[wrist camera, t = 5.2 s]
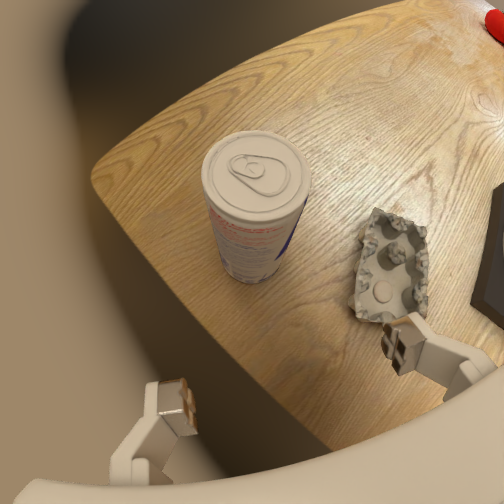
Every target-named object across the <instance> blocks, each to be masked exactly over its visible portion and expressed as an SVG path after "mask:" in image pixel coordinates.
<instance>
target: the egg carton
mask: <svg viewBox="0 0 504 504" xmlns="http://www.w3.org/2000/svg"><path fill="white" fill-rule="evenodd" d="M426 236H427V230H426V227H424V226H421V227H420V226H417V225H415V224H414V222H413V221H408V220H405V219H404V218H403V217H399V216H397V215H395V214H393V213H386V212H384V211H383V210H381V209H379V208H376V207H374V209H373V211H372V213H371V215H370V218H369V221H368V224H366V225H365V227H364V228H362V230H361V231H360V233H359V240H360V241H361V242H362V243H363V244H364V247H363V250H362V253H361V259H360V260H358V261H357V262H356V263H355V266H354V272H355V273H356V274H357V275H356V285H355V294H354V295H352V296H350V298H349V304H348V306H349V307H350V308H352V309H353V310H354V311H355V312H356V315H355V316H356V317H357V319H358V320H359V321H361V322H364V323H367V322H382V326H384V325H385V323H387V322H389V321H392V320H395V319H397V318H400V317H402V316H405V315H408V314H410V313H413V312H417V313H418V314H419V315H420V316H421V317H422V318H423V319H424V320H425V318H426V317H427V307H428V296H427V295H426V292H427V287H428V267H429V256H428V250H427V243H426V241H425V237H426Z"/></svg>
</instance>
